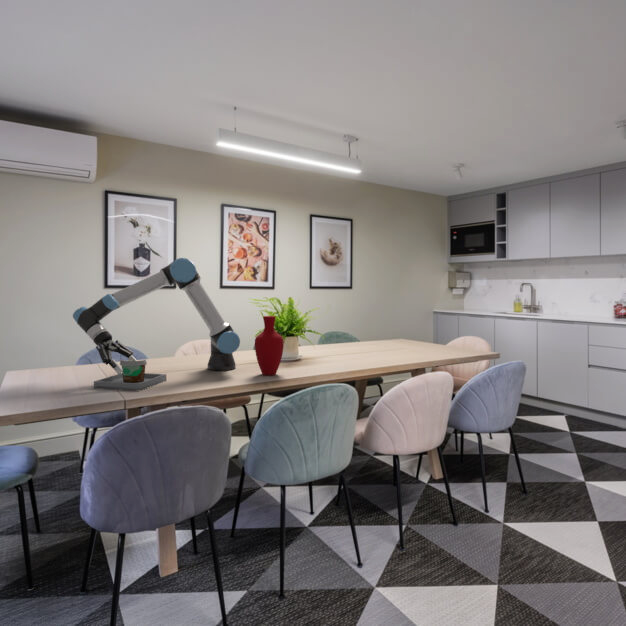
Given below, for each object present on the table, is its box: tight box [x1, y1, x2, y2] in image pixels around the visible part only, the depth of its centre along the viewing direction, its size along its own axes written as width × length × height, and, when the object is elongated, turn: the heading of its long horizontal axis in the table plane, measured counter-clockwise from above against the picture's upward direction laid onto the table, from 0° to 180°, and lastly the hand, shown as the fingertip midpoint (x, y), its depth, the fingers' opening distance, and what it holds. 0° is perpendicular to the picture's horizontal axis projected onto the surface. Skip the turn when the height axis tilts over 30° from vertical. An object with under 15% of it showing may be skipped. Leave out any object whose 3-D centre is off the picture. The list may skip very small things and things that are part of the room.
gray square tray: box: [93, 372, 167, 391], centre depth 201 cm, size 22×22×3 cm
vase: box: [254, 315, 285, 376], centre depth 227 cm, size 15×15×30 cm
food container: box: [119, 358, 148, 383], centre depth 201 cm, size 12×6×10 cm, turn 81°
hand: (130, 369), depth 201 cm, fingers open, 13 cm apart
